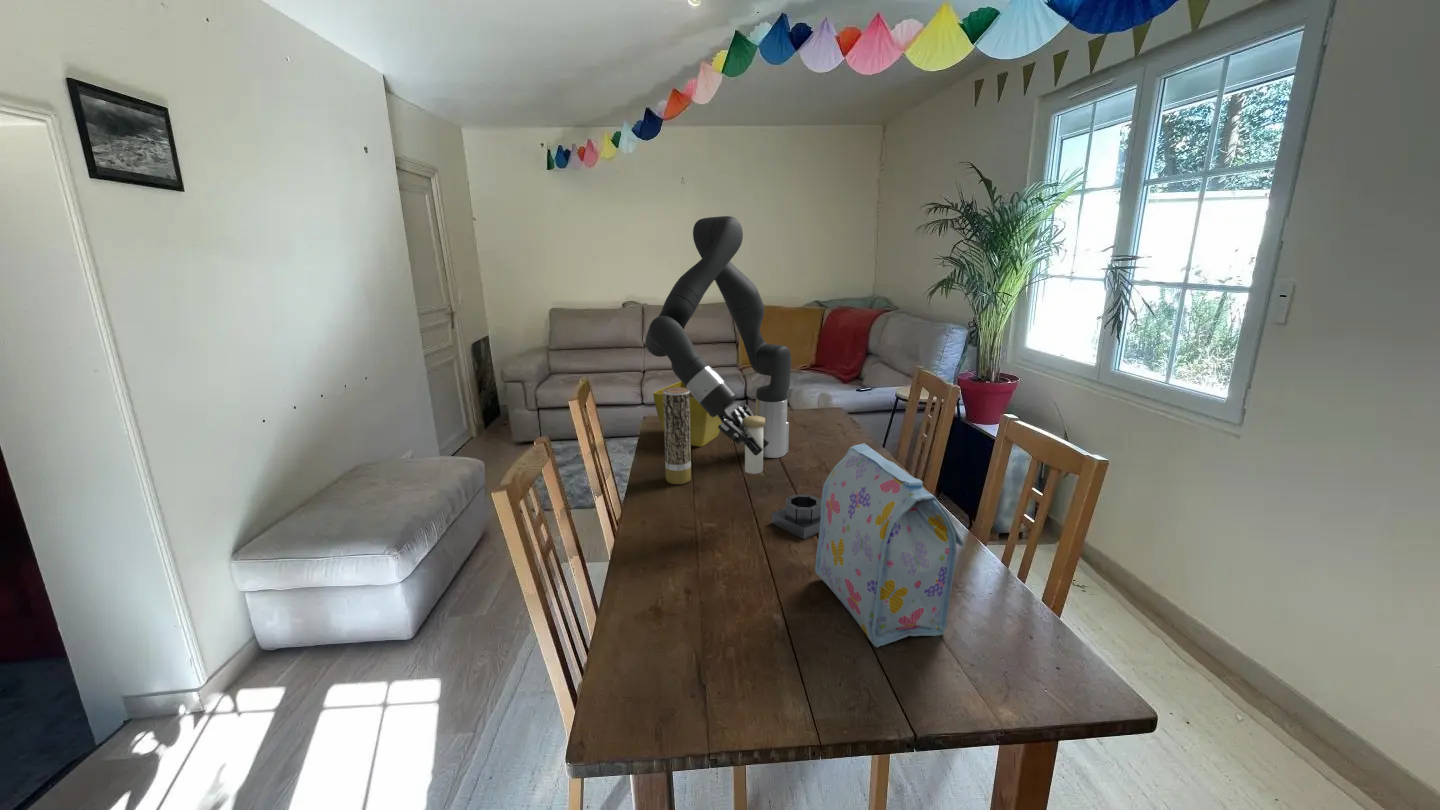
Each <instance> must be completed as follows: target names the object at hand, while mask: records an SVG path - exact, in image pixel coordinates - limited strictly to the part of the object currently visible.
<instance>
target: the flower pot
mask: <svg viewBox="0 0 1440 810" xmlns="http://www.w3.org/2000/svg"><path fill="white" fill-rule="evenodd" d="M672 387H683V388H687V387H686V386H685V385H684V384H683V383H682V381H681V380H680V381H677V382H676V383H672V384H670V385H667V386H666V387H663V388H661V389H658V390H656V391H653V400H654V405H655V409H656V413H657V416H658V420H659V421H658V422H659V423H660V426H661V429H662V431H663V433H664V404H663V390H664V389H666V388H672ZM689 392H690V391H689ZM721 423H722V421H721V420H720V418H719V416H718V415H717V416H715V417H711V416H710V415H709V414H708V413H707V411H706V410H705V409H704V408H703V407H702V406H701V405H700V403H699V402H698V401H697V400H696V399H695V398H694V397H693V395H692V394H691V393H690V443H691V447H692V446H693V447H703V446H705V445H706V444H708V443H710V442H711V441H713V440H714V439H716V438H717V437H718V436H719V434H720V431H721V430H720V429H719V428H718V426H719V425H720V424H721Z"/></svg>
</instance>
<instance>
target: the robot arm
mask: <svg viewBox="0 0 1440 810" xmlns="http://www.w3.org/2000/svg"><path fill="white" fill-rule="evenodd" d="M743 236H744V233H743V228H742V224H741V222H740V220H738V219H737V218H736V217H735V216H731V215H730V216H729V215H725V216H723V215H721V216H713V217H712V216H711V217H710V216H709V217H704V218H700V219H698V220H697V221H696V222H695V223H694V226H693V229H692V238H693V243H694V246H695V248H696V250H697V253H698V254H699V255H700V258H701V259H700V260H699V261H698V262H696V263H695V264H694V265H693V266H692V267H690V268H689V269H688V270H687V271H685V272H684V273H683V274H682V275H681V276H680V277H679V278H678V279H677V281H676V282H675V284H674V285H673V287H672V289H671V290H670V292H669V294H668V295H667V297H666V299H665V301H664V302H663V306H662V309H661V311H660V312H659V315H658V316H657V317H655V318H654V319H653V320H652V321H651V322H650V324H649V326H648V330H647V333H646V335H645V347H646V349H647V351H648V352H649V353H650V354H651V355H653V356H655V357H659V358H662V357H666V356H667V357H668V359H669V361H670V363H671V370H672V371H673V373H674V375H675V376H676V377H677V378H678V379H679V380H680V381H682V383H683V384H684V385H685V386H686V387H687V388H688V390H689V391H690V393H691V394H692V395H693V397H694V398H695V399H696V400H697V401H698V402H699V403H700V405H701V406H702V407H703V408H704V409H705V410H706V411H707V413H708V414H709V415H710V416H711V417H715V416H717V415H718V416H719V418H720V420H721V421H722V423H721V424H720V425H719V426H718V428H719V429H720V431H721V432H722V433H723V434H724V435H726V437H728V438H729V439H731V440H732V441H733V442H734V443H735V444H737V445H739V444H740V443H741V444H744V446H745V445H746V446H747V447H748V448H749V449H750V451H751V452H752V453H753V454H754V455H758V454H759V453H760V452H761V451H762V450H763V458H767V459H777V458H782V457H784V456H786V454H787V453H789V442H790V441H789V440H790V434H789V433H790V423H789V422H788V419H787V418H788V393H789V389H790V386H791V371H792V354H791V351H790V349H789V348H788V347H787V346H785V345H781V344H772V343H767V342H766V340H764V338H763V335H762V333H761V326H762V323H763V321H764V320H763V319H764V316H765V304H764V302H763V299H762V297H761V295H760V292H759V290H758V288H757V286H756V285H755V283H754V282H753V281H752V280H750V278H749V277H748V276H746V275H745V274H744V272H742V271H741V270H740V269H738V268H737V267H736V266H735V264H733V262H731V260H732V259H733V258H734V257H735V255H736V254H737V252H738V251H739V249H740V248H741V246H742V243H743ZM714 281H715V283H716V286H717V287H718V289H719V291H720V293H721V295H722V299H723V300H724V302H725V304H726V307H727V310H728V311H729V313H730V315H731V318H732V319H733V322H734V324H735V326H736V327H737V330H738V333H739V336H740V337H741V341H742V343H743V345H744V349H745V351H746V356H747V358H748V362H749V364H750V366H751V367H752V370H753V371H754V372H755V373H757V374H759V375H763V376H768V377H770V382H769V384H767V385H762V386H760V387H758V388H757V389H756V393H755V415H754V413H753V412H752V410H751V408H750V407H749V406H748V405H747V404H745V405H743V406H741V405H739V404H738V403H737V402H736V399H737V397H738V394H737V393H736V392H735V391H734V389H733V388H731V386H730V385H729V384H728V383H727V382H726V380H724V378H723V377H722V376H721V375H720V374H719V372H717V371H716V370H715V369H714V368H712V366H710V364H709V363H708V362H707V361H706V360H705V359H704V358H703V357H702V356H701V354H700V353H698V351H697V349H696V348H695V347H694V344H693V342H692V341H691V339H690V337H689V336H688V334H687V332H686V331H685V328H686V325H687V324H688V322H689V321H690V319H691V318H692V317H693V315H694V313H695V312H696V309H697V308H698V306H699V304H700V303H701V302H702V299H703V297H704V295H705V294H706V292H707V290H709V287H710V286H711V285H712V284H713V282H714ZM747 416H761V417H764V418H765V426H763V449H762V447H761V446H760V445H759V444H758V443H757V441H756V440H755V439H754V438H753V437H751V435H750V433H749V432H748V430H747V429H746V428H747V427H746V426H745V424H744V421H743V418H744V417H747ZM750 437H751V438H750Z"/></svg>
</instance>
